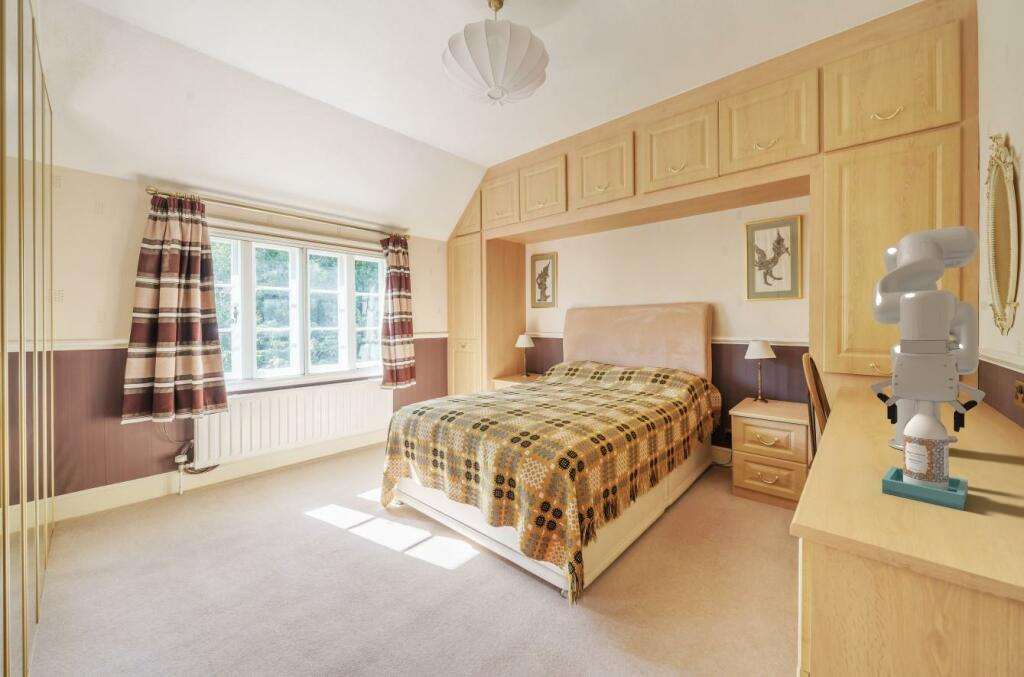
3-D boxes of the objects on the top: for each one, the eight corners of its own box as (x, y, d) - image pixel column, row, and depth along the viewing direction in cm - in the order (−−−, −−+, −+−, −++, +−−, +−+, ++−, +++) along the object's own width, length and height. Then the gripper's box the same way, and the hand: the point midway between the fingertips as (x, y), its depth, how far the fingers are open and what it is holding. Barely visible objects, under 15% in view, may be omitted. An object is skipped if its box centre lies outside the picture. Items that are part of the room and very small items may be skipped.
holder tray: (892, 478, 97) (892, 466, 97) (967, 493, 88) (967, 480, 88) (882, 492, 89) (882, 479, 89) (963, 510, 80) (963, 495, 80)
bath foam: (895, 484, 91) (894, 395, 91) (916, 480, 93) (915, 393, 93) (935, 496, 84) (934, 400, 84) (956, 492, 86) (956, 398, 86)
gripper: (986, 347, 84) (985, 430, 84) (874, 346, 97) (875, 417, 98) (984, 350, 79) (984, 438, 80) (867, 348, 92) (868, 423, 93)
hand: (924, 426), depth 89 cm, fingers open, 9 cm apart
